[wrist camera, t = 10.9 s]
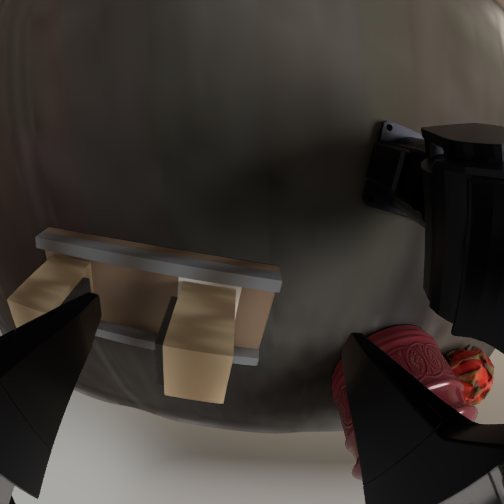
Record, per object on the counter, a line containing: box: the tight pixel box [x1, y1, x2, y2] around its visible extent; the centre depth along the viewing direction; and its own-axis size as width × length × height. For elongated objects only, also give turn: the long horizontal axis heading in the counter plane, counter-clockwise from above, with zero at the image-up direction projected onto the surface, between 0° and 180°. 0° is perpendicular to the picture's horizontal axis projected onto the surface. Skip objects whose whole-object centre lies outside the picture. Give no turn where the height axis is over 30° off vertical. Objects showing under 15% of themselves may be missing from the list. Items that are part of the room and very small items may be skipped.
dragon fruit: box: [444, 346, 494, 405], centre depth 26 cm, size 8×8×12 cm
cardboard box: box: [155, 281, 236, 404], centre depth 19 cm, size 5×5×7 cm
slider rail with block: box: [7, 227, 282, 366], centre depth 19 cm, size 20×9×8 cm, turn 79°
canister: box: [332, 325, 478, 480], centre depth 20 cm, size 13×13×18 cm
